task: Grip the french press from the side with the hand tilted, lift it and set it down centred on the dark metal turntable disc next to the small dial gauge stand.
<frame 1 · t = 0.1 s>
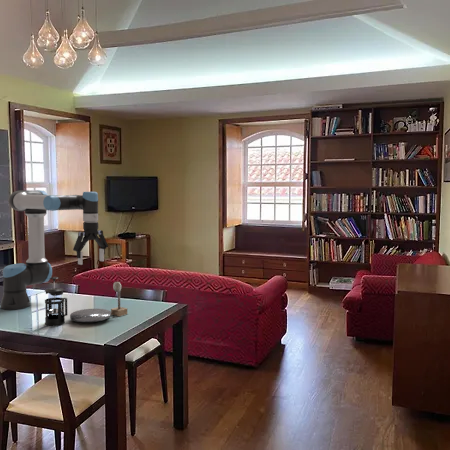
hand: (91, 262, 243), 28 cm above the table, tool pointing down, fingers open, 13 cm apart
french press: (56, 323, 232), on the table
turntable: (90, 314, 238), point 3 cm above the table, hinge at 0.0°
dial gauge stand: (119, 314, 249), on the table
turntable base: (91, 320, 238), on the table
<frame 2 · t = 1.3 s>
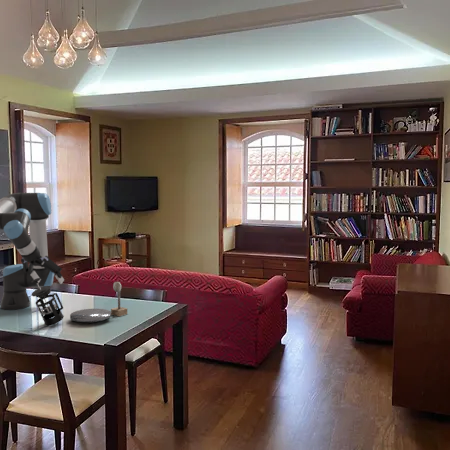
hand: (50, 281, 226), 21 cm above the table, tool tilted 40°, fingers open, 13 cm apart
french press: (55, 319, 231), point 2 cm above the table
everything else where it was.
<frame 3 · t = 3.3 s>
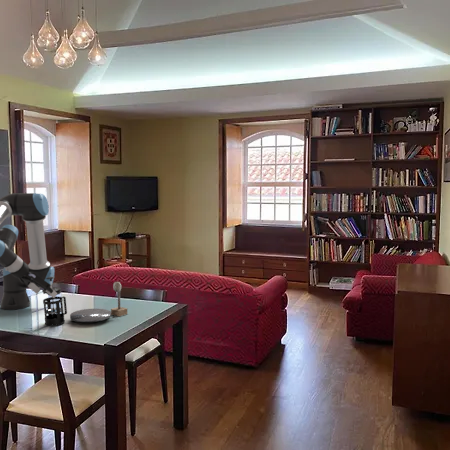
hand: (46, 293, 226), 16 cm above the table, tool tilted 45°, fingers open, 13 cm apart
french press: (56, 322, 232), on the table
everything else where it was.
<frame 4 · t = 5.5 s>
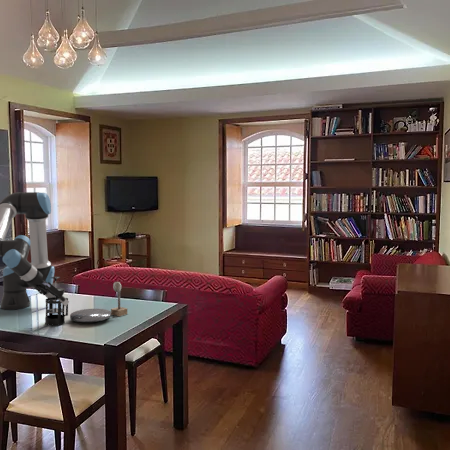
hand: (61, 302, 234), 10 cm above the table, tool tilted 45°, fingers closed on french press, 9 cm apart
french press: (55, 323, 232), on the table, touching gripper
everything else where it was.
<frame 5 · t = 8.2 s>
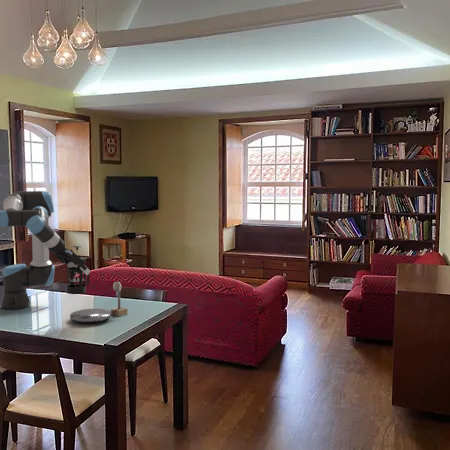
hand: (82, 272, 235), 25 cm above the table, tool tilted 45°, fingers closed on french press, 9 cm apart
french press: (77, 292, 233), point 15 cm above the table, touching gripper
everything else where it was.
when the fingers open (14 cm above the table, at t = 11.1 s): french press drops 1 cm, resting on turntable.
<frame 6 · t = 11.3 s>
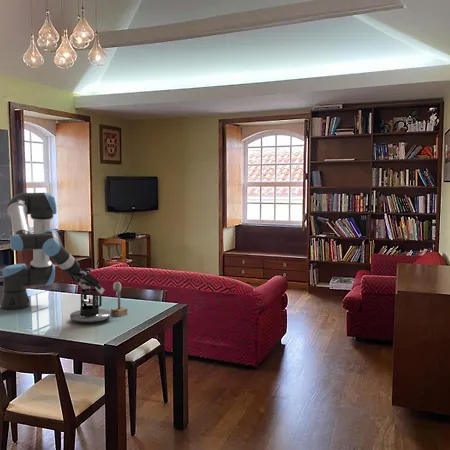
hand: (95, 290, 239), 15 cm above the table, tool tilted 45°, fingers open, 11 cm apart
french press: (90, 313, 238), point 3 cm above the table, touching turntable
turntable: (90, 314, 238), point 3 cm above the table, hinge at 0.0°, touching french press
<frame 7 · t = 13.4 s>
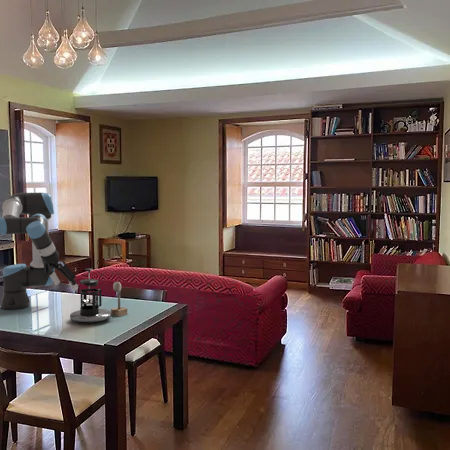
hand: (66, 286, 228), 19 cm above the table, tool tilted 30°, fingers open, 13 cm apart
nothing on the table moved.
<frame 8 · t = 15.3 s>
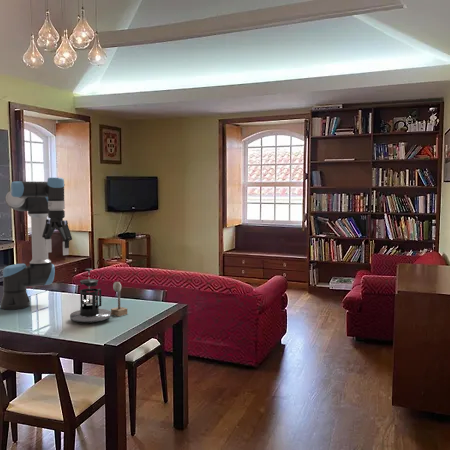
hand: (57, 253, 228), 35 cm above the table, tool pointing down, fingers open, 13 cm apart
nothing on the table moved.
at the end: french press 0.2 cm from the turntable (horizontally); french press tilted 0°; french press point 3.1 cm above the table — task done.
